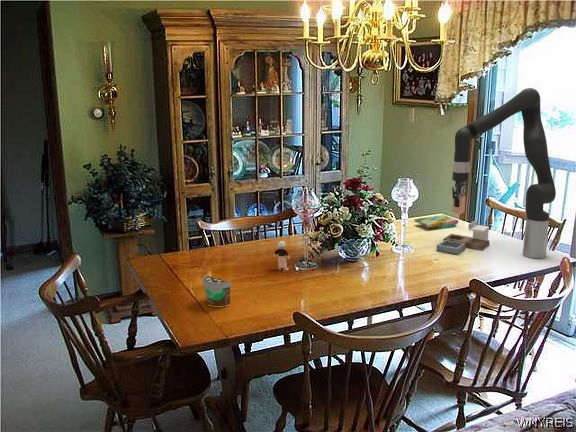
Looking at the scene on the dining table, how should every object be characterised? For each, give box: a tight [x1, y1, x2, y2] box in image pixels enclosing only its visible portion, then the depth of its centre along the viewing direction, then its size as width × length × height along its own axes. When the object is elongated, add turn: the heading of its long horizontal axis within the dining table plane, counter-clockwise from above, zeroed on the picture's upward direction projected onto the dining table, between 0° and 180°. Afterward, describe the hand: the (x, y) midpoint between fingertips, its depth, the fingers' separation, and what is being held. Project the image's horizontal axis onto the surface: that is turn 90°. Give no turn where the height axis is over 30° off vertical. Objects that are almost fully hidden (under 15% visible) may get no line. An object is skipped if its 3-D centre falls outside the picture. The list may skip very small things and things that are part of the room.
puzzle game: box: [413, 214, 459, 230], centre depth 299 cm, size 12×5×20 cm
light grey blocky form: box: [467, 220, 490, 241], centre depth 264 cm, size 7×8×9 cm
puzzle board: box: [442, 233, 491, 252], centre depth 268 cm, size 19×10×2 cm, turn 53°
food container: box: [202, 273, 232, 306], centre depth 202 cm, size 12×6×10 cm, turn 52°
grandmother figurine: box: [272, 240, 291, 271], centre depth 237 cm, size 8×4×13 cm, turn 74°
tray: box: [435, 240, 466, 256], centre depth 260 cm, size 10×10×3 cm
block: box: [451, 195, 466, 215], centre depth 266 cm, size 4×4×8 cm
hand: (458, 205), depth 267 cm, fingers closed on block, 4 cm apart
